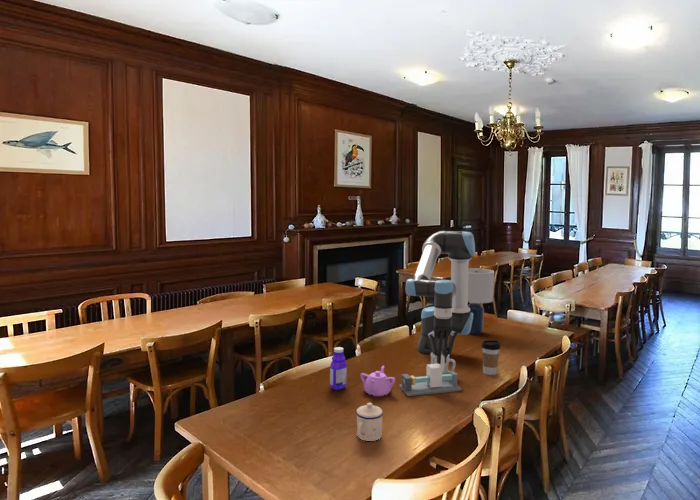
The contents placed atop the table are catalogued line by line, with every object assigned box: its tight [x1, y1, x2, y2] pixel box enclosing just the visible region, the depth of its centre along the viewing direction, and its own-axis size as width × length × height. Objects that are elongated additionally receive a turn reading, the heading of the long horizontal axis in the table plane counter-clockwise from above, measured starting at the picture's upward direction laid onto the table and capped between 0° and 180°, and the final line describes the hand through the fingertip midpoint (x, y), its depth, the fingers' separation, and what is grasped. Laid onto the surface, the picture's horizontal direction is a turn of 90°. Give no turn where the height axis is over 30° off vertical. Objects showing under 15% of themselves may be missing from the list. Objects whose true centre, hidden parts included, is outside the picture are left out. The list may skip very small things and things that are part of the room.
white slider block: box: [425, 363, 443, 388], centre depth 204 cm, size 5×5×8 cm
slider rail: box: [399, 371, 462, 397], centre depth 204 cm, size 10×24×6 cm, turn 104°
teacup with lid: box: [355, 402, 384, 441], centre depth 161 cm, size 12×9×12 cm
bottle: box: [329, 346, 348, 391], centre depth 204 cm, size 7×6×17 cm
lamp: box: [468, 267, 495, 336], centre depth 287 cm, size 20×20×39 cm
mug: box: [430, 352, 457, 375], centre depth 219 cm, size 11×8×10 cm
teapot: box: [359, 365, 396, 397], centre depth 200 cm, size 12×14×9 cm
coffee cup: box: [481, 339, 501, 376], centre depth 223 cm, size 8×8×15 cm
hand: (441, 370), depth 205 cm, fingers closed
